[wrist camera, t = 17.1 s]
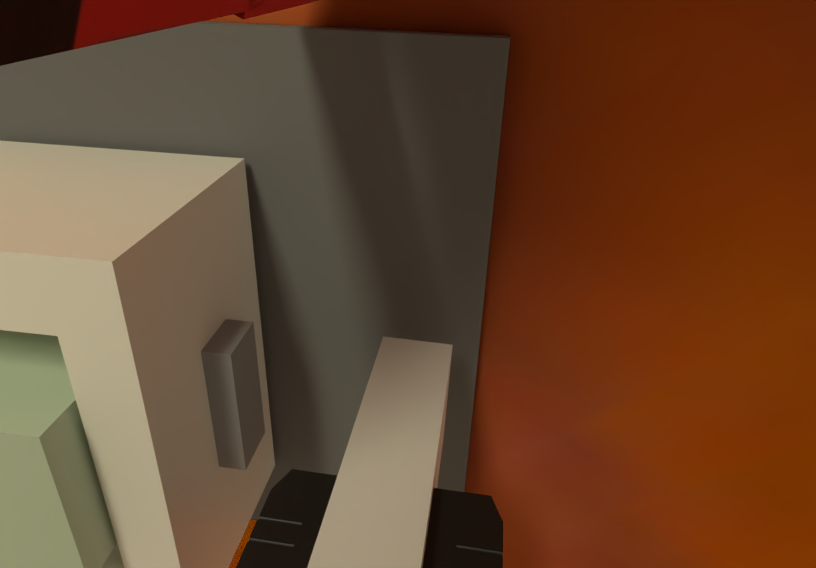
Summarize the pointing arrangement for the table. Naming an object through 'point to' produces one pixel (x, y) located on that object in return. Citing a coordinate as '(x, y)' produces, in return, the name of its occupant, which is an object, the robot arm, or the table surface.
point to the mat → (315, 191)
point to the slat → (46, 463)
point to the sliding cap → (147, 334)
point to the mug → (106, 21)
